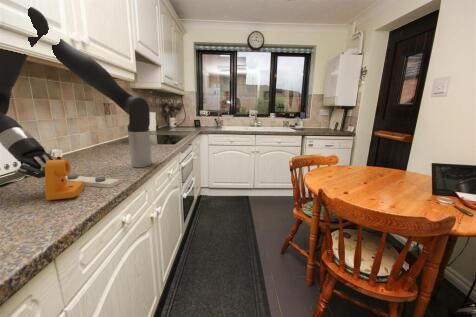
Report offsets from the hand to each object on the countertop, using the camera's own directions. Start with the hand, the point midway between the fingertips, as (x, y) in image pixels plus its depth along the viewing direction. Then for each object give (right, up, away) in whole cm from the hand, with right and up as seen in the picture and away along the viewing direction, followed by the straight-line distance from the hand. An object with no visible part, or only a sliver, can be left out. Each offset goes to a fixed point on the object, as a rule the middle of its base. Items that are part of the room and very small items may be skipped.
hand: (60, 183), depth 70 cm
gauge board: (+1, -1, +11) cm, 11 cm away
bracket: (+2, -4, +1) cm, 5 cm away
